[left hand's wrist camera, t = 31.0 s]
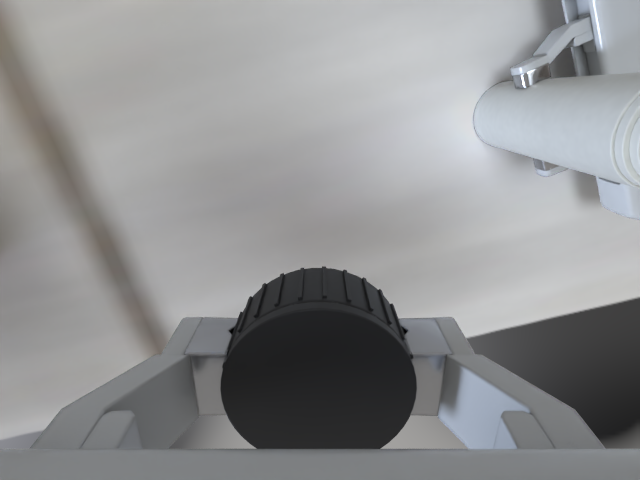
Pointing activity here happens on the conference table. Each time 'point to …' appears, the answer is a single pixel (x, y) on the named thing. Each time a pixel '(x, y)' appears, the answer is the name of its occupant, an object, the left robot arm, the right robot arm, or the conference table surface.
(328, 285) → the cap
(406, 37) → the conference table surface
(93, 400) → the left robot arm
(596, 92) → the bottle
